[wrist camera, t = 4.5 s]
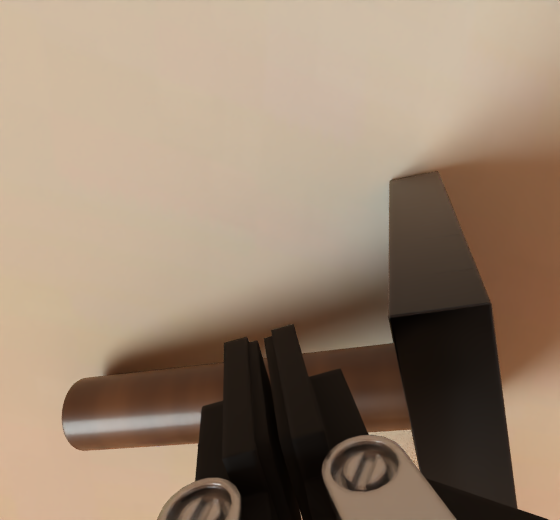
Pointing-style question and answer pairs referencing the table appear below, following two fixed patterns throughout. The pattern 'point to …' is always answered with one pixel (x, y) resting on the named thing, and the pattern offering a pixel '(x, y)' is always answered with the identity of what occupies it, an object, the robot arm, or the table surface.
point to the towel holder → (362, 364)
